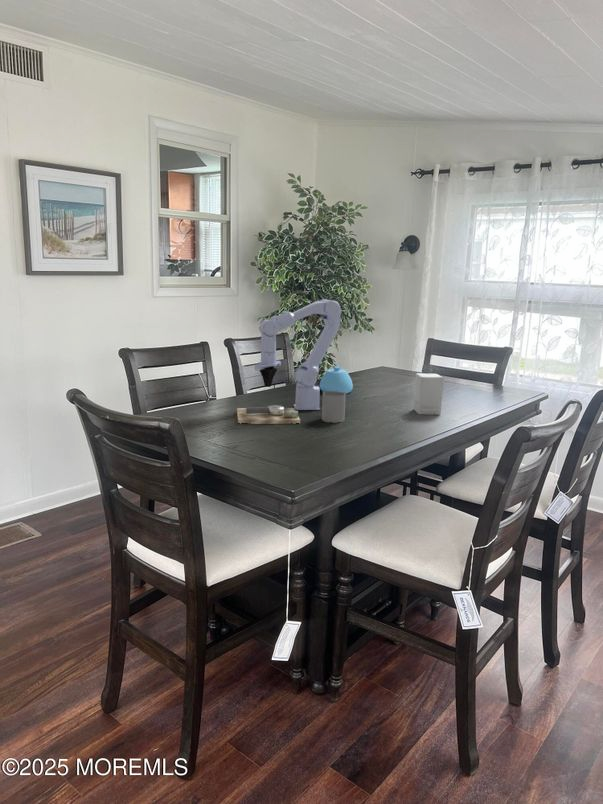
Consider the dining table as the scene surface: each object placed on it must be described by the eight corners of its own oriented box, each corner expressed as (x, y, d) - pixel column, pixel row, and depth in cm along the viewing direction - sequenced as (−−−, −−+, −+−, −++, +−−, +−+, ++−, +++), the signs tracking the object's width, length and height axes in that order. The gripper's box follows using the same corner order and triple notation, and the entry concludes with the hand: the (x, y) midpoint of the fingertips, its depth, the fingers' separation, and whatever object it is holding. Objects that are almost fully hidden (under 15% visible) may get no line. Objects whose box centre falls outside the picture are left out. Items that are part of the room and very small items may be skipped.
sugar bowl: (358, 391, 275) (359, 366, 272) (342, 396, 262) (343, 370, 260) (329, 387, 282) (330, 363, 280) (313, 392, 270) (314, 366, 268)
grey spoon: (282, 411, 225) (282, 405, 224) (285, 415, 219) (285, 408, 219) (245, 412, 222) (245, 406, 221) (247, 416, 216) (247, 409, 215)
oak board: (293, 411, 232) (294, 401, 232) (300, 423, 215) (300, 413, 214) (236, 412, 229) (236, 402, 228) (238, 424, 212) (238, 413, 211)
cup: (328, 423, 216) (329, 396, 214) (317, 418, 223) (318, 392, 221) (348, 421, 220) (349, 394, 218) (337, 416, 227) (338, 390, 225)
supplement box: (441, 415, 234) (444, 377, 230) (418, 414, 233) (421, 377, 230) (434, 409, 242) (437, 373, 239) (412, 409, 242) (415, 372, 239)
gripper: (270, 348, 237) (270, 382, 240) (248, 352, 225) (248, 387, 228) (285, 350, 233) (284, 384, 236) (263, 354, 221) (263, 390, 224)
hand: (267, 386), depth 232 cm, fingers closed
